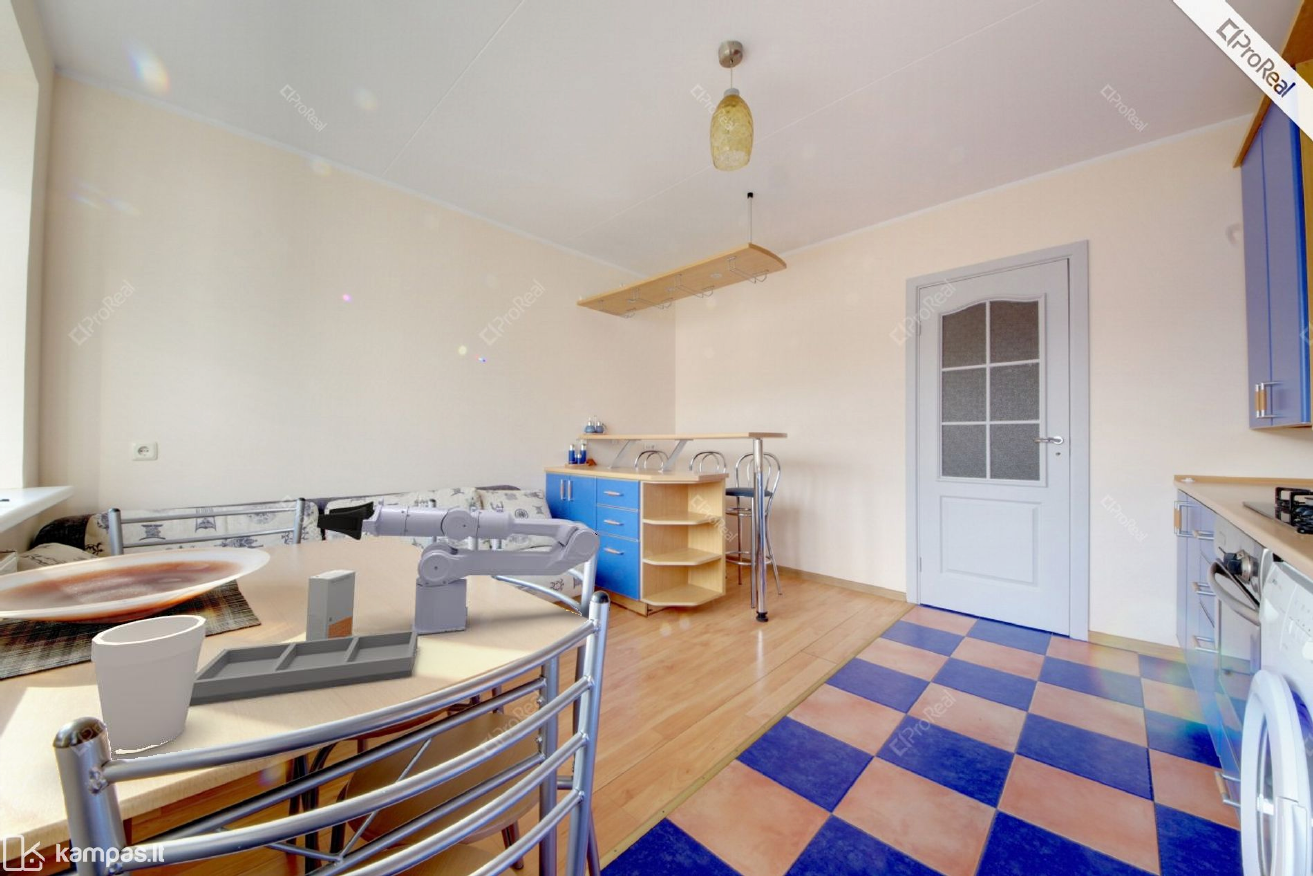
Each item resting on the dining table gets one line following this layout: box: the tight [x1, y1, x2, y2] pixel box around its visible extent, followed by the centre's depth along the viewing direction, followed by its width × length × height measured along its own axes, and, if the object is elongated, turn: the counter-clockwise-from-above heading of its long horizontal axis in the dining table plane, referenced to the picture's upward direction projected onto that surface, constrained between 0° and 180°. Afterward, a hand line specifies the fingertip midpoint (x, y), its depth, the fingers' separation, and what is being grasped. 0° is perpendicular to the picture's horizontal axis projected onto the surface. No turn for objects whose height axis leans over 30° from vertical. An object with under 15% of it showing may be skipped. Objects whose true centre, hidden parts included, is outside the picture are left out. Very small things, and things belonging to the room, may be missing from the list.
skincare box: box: [305, 569, 356, 641], centre depth 88 cm, size 6×4×12 cm
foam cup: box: [90, 614, 207, 756], centre depth 59 cm, size 10×9×13 cm
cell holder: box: [189, 629, 419, 707], centre depth 76 cm, size 27×12×3 cm, turn 112°
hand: (323, 518), depth 89 cm, fingers open, 7 cm apart
